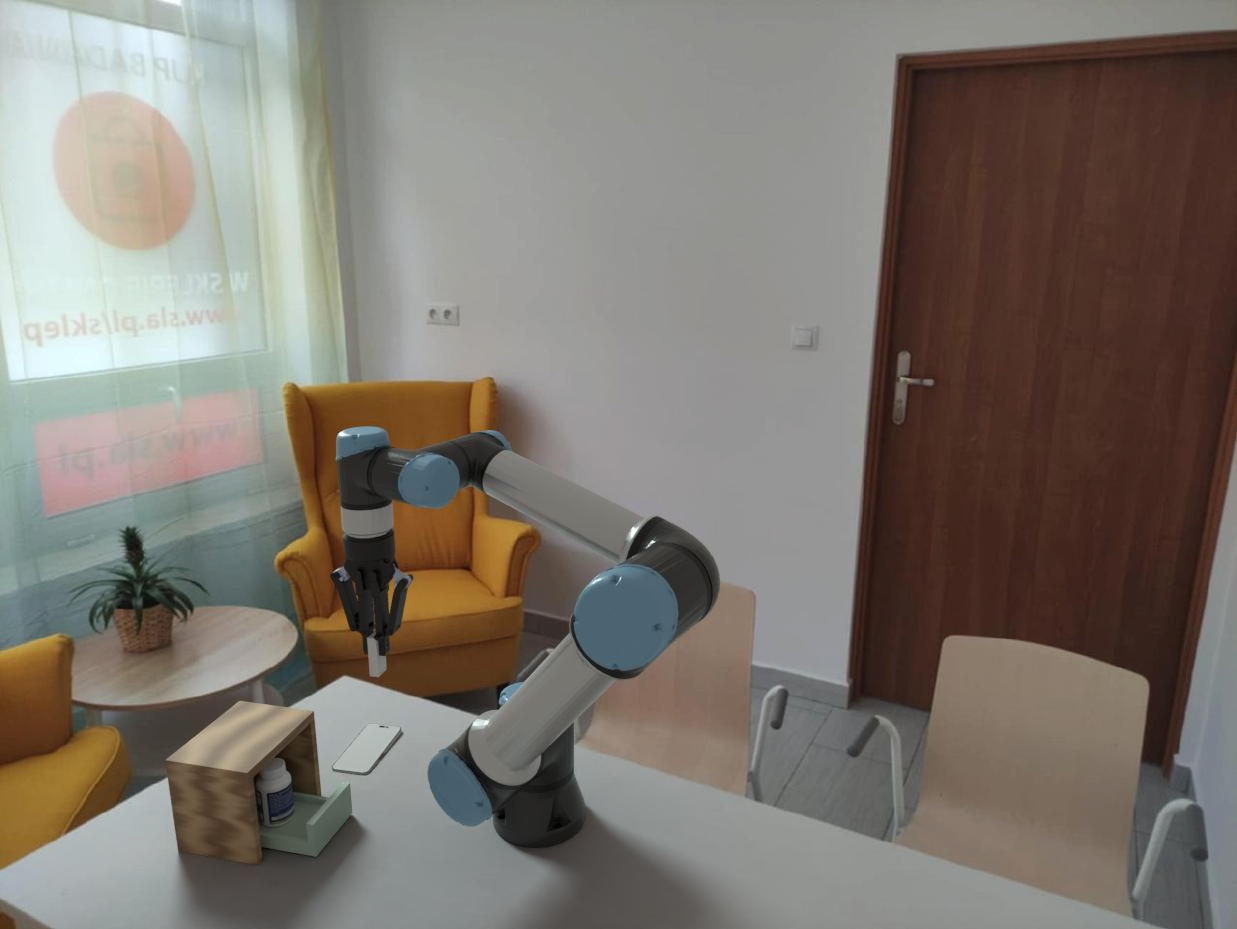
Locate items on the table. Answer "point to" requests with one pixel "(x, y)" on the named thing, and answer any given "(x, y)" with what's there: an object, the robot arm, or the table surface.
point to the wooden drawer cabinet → (237, 777)
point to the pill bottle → (274, 794)
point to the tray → (309, 822)
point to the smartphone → (367, 749)
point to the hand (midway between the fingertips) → (378, 672)
